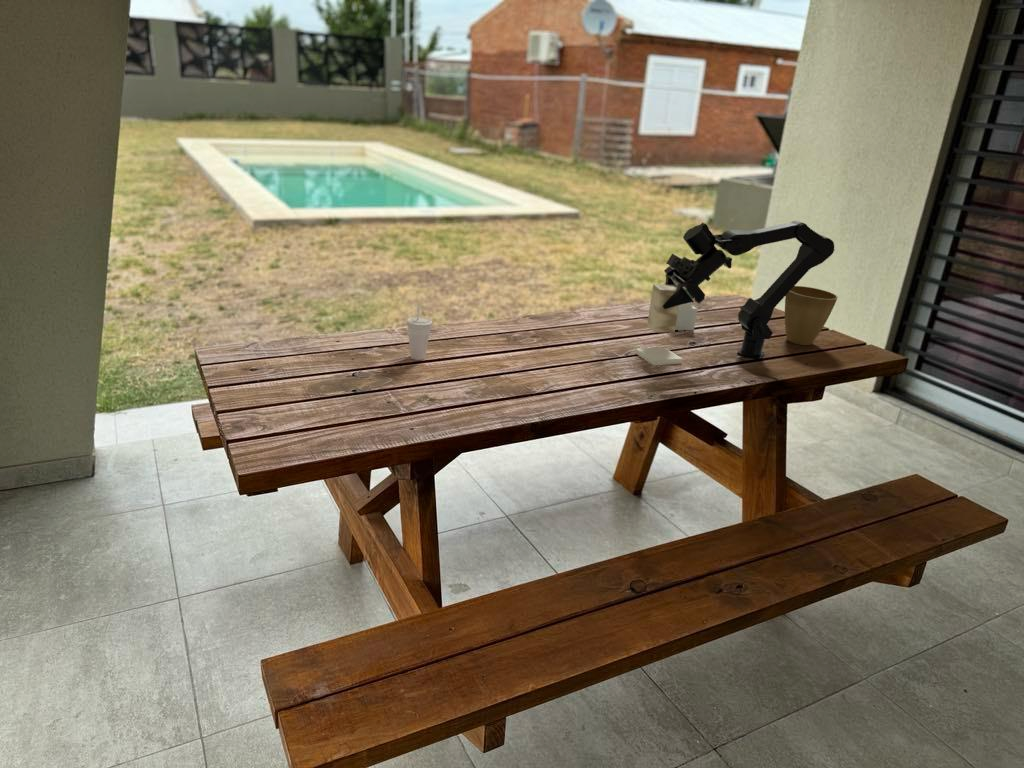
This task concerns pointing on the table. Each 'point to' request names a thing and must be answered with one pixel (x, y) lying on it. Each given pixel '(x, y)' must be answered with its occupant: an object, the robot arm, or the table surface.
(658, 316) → the beige rectangular block
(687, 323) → the medicine bottle
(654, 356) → the top slab
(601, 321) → the table surface
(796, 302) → the plant pot
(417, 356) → the smoothie
